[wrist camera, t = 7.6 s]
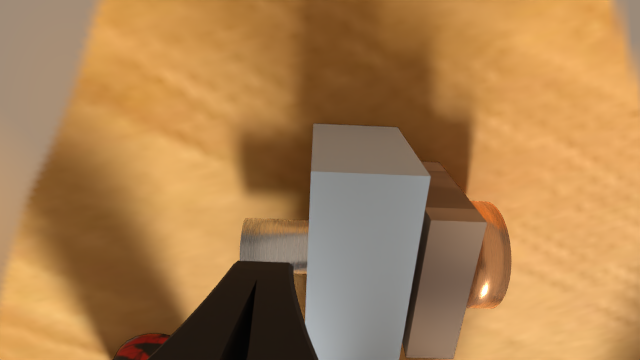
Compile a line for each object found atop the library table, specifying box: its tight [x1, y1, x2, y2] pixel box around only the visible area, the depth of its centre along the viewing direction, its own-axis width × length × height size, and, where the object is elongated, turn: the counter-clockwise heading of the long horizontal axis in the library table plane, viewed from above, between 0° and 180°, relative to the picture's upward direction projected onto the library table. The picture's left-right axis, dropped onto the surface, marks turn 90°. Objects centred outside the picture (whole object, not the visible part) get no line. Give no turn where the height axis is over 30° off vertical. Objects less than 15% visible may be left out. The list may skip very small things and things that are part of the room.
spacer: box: [402, 162, 487, 359], centre depth 18 cm, size 7×2×6 cm, turn 177°
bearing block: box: [305, 124, 431, 360], centre depth 18 cm, size 10×4×6 cm, turn 177°
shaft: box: [240, 201, 511, 308], centre depth 18 cm, size 11×5×5 cm, turn 87°
